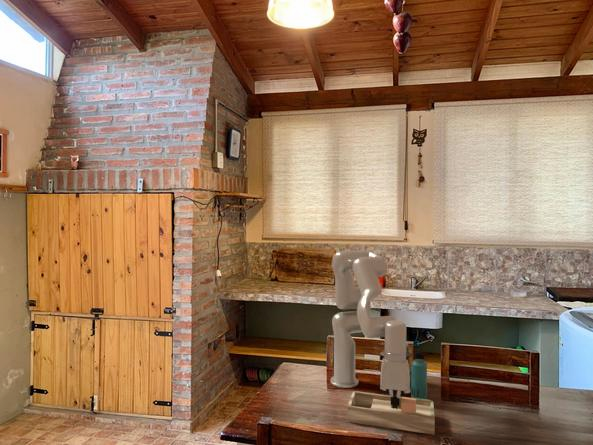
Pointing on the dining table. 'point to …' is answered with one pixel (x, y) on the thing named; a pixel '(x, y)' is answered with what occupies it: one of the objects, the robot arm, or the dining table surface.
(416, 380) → the beverage bottle
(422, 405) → the light wood long tray
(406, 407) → the block
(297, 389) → the dining table surface
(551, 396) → the dining table surface
